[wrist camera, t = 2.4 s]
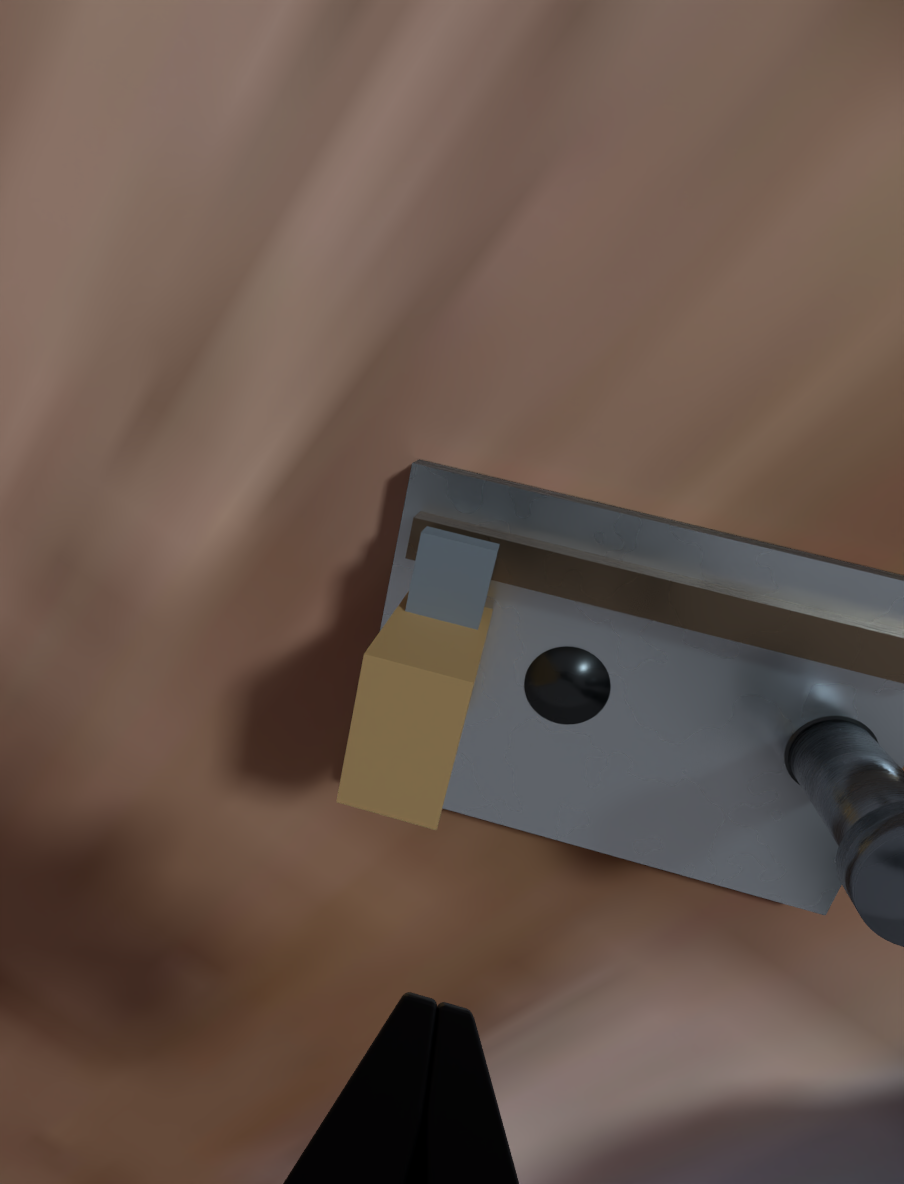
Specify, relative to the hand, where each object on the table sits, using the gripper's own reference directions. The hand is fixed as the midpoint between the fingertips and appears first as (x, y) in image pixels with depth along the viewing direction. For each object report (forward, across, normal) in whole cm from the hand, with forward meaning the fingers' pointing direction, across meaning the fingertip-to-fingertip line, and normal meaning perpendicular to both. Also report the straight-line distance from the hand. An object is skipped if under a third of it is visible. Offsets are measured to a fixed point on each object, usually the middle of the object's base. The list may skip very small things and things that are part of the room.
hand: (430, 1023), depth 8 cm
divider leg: (+12, +1, 0) cm, 12 cm away
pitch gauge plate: (+13, -5, +1) cm, 14 cm away
